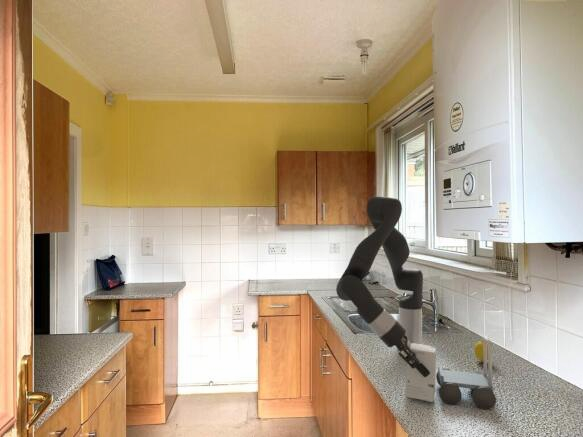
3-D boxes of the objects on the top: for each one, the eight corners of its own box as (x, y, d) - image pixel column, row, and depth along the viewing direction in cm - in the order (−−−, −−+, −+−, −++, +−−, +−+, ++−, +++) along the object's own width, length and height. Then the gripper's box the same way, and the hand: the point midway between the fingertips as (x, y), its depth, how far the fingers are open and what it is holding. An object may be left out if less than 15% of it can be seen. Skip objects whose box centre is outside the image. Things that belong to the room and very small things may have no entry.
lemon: (482, 365, 138) (482, 344, 138) (471, 360, 143) (471, 339, 143) (494, 363, 139) (494, 342, 139) (483, 358, 144) (483, 338, 144)
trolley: (436, 385, 122) (436, 329, 121) (487, 391, 117) (486, 333, 117) (439, 403, 110) (439, 341, 110) (496, 410, 106) (496, 345, 105)
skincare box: (405, 397, 111) (405, 347, 111) (407, 388, 117) (407, 341, 117) (435, 403, 108) (435, 352, 108) (436, 393, 113) (436, 345, 113)
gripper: (394, 326, 107) (438, 372, 104) (396, 313, 121) (434, 354, 118) (376, 343, 109) (418, 388, 106) (379, 328, 123) (416, 368, 119)
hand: (426, 370), depth 112 cm, fingers closed on skincare box, 6 cm apart
